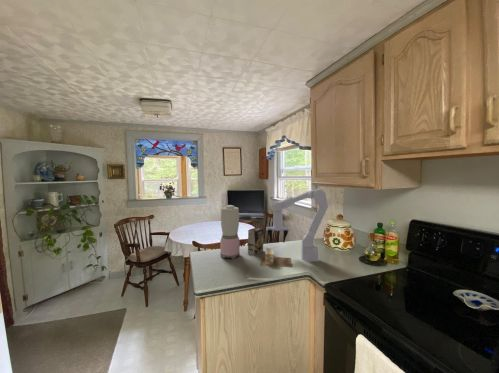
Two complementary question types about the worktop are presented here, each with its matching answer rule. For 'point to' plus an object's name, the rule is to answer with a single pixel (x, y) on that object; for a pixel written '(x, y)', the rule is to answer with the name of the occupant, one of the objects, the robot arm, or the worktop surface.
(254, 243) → the coffee box
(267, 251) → the block
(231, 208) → the blender
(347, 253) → the worktop surface
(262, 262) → the base
